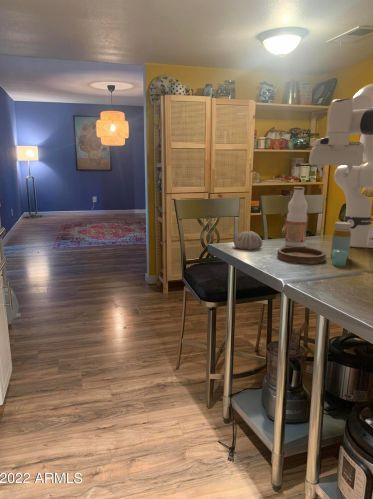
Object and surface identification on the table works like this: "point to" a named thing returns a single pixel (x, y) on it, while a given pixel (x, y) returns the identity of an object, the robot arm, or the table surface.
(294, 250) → the round tray
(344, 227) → the bottle
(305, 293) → the table surface
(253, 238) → the sea urchin shell
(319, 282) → the table surface
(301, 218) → the fruit juice
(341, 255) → the bead
